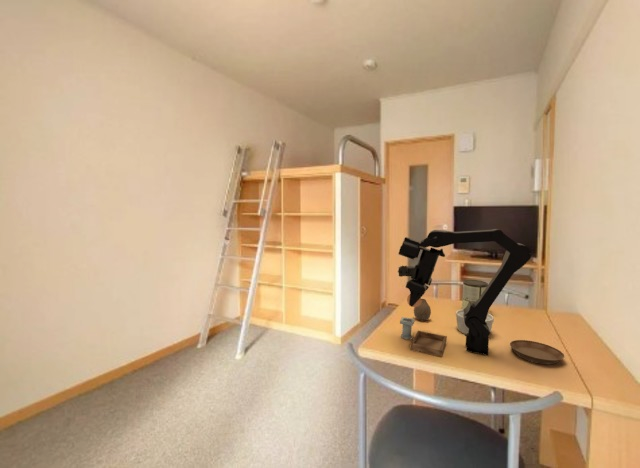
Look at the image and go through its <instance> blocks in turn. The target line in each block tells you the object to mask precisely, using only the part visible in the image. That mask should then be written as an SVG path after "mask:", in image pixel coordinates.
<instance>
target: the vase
mask: <svg viewBox="0 0 640 468" xmlns="http://www.w3.org/2000/svg"><path fill="white" fill-rule="evenodd" d="M413 314H414V317H415V318H416V320H418V321H421V322H426V321H428V320H429V319H430V317H431V314H432V309H431V306H430V305H429V303H428V301H427V300H426V299H425V298H421V304H420V305H419V306H418V307H413Z"/></svg>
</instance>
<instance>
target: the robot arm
mask: <svg viewBox="0 0 640 468" xmlns="http://www.w3.org/2000/svg"><path fill="white" fill-rule="evenodd" d="M486 242H488V243H490V242H495V243H496V244H497V245H498V246H499V247H501V248H502V249H503V250H505V252H504V255H503V258H502V262H501V264H500V267H499V268H498V270H497V271H496V272H495V274H494V275H493V277H492V278H491V279H490V282H488V286H487V287H486V288H485V290H484V291H483V293H482V294H481V296H480V297H479V299H478V300H477V301H475V302H474V303H472V302H471V301H469V303H468V305H467V307H466V308H465V309H463V311H464V314H463V317H464V322H465V325H466V326H467V327H468V328H469V331H468V333H467V334H465V347H466V351H467V352H470V353H474V354H479V355H485V356H489V344H490V343H489V341H490V335H491V332H490V330H489V328H488V325H487V323H486V322H485V320H486V318H487V314H489V310H490V308H491V307H492V305H493V303H494V302H495V301H496V300H497V298H498V297H499V295H500V294H501V292H502V291H503V290H504V288H505V286H506V285H507V284H508V282H509V281H510V279H511V278H512V276H513V275H514V273H516V272H517V271H519V270H520V269H522V268H523V267H524V266H525V265H526V264H527V263H528V262H529V261H530V259H531V258H532V255H533V254H532V251H531V249H530V248H529V247H528V246H527V245H524V244H522V243H519V242H516V241H515V240H513V239H512V238H510V237H509V235H506V234H505V233H504V232H503V231H502V230H501V229H499V228H493V229H484V230H483V229H482V230H465V231H450V230H444V229H443V230H442V229H434V230H431V231H430V232H428V235H427V237H426V238H424V239H421V241H417V240H413V239H412V238H410V237H407V236H405V237H404V239H403V241H402V243H401V246H400V247H399V251H398V255H399V256H402V257H404V258H408V259H410V260H413V261H414V260H415V259H418V258H419V259H418V262H417V264H415V265H414V266H412V265H410V266H407V265H400V266H399V267H398V270H397V273H398V277H410V279H408V281H407V282H406V284H405V288H406V289H408V290H409V295H410V302H409V304H408V305H409V307H412V306H413V305H414V304H415V303H416V302H417V301H418V300H419V299H420V298H421V299H422V297H423V296H424V295H425V293H426V291H428V289H429V286H431V284H432V282H433V279H432V275H433V273H435V268H436V264H437V262H438V260H439V256H440V257H442V258H445V257H446V254H445V252H444V251H443V250H444V248H442V247H447V246H450V245H454V244H466V243H467V244H468V243H486ZM429 247H430V248H429ZM436 248H438V249H436ZM439 248H440V249H439ZM421 250H422V251H421ZM419 256H420V257H419Z"/></svg>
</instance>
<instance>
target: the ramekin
mask: <svg viewBox="0 0 640 468" xmlns="http://www.w3.org/2000/svg"><path fill="white" fill-rule="evenodd" d="M463 314H464V311H463V309H462V308H461V309H458V310H456V312H455V317H456V327H457V329H458V331H460V333H462V334H464V335H466V334H467V333H468V331H469V328H468V327H467V326H466V325H465V322H464V317H463ZM485 322H486V323H487V325H488V328H489V330H490V333H491V331H492V328H493V324H494V316H493V315H492V314H490V313H488V314H487V318H486V320H485Z"/></svg>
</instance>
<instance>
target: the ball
mask: <svg viewBox="0 0 640 468" xmlns="http://www.w3.org/2000/svg"><path fill="white" fill-rule="evenodd" d="M421 299H422V297H421V298H420V299H419V300H418V301H417V302H416V303H415V304H414V305H413V306H412V307H413V308H414V307H418V306H419V305H420V304H421ZM406 301H407V304H408V305H409V302H410V294H408V296H407V297H406Z"/></svg>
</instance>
